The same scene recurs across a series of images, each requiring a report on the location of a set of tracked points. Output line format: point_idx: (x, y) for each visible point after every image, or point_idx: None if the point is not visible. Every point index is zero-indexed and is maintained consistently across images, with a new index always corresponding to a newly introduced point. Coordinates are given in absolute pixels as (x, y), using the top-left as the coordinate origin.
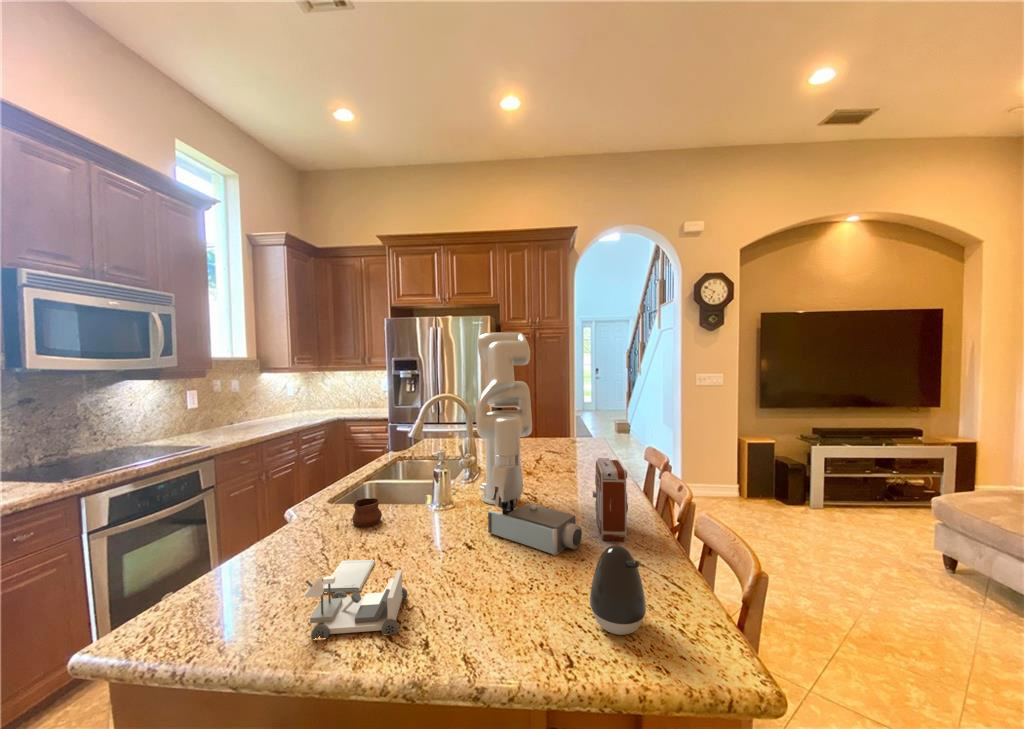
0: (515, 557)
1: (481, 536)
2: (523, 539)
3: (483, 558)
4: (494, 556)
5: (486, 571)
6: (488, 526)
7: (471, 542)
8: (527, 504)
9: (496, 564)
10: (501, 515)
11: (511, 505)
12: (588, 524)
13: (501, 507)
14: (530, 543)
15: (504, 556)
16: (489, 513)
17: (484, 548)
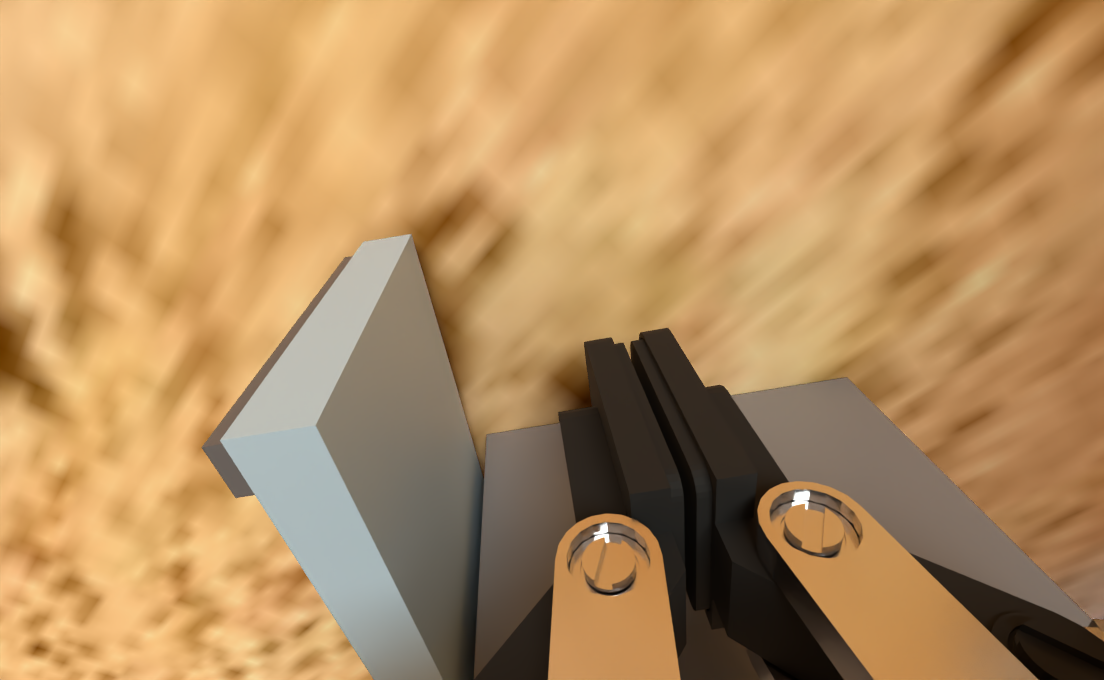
0: (330, 639)
1: (249, 216)
2: None
3: (82, 555)
4: (189, 574)
5: (47, 660)
6: (317, 300)
7: (49, 264)
8: None
9: (154, 639)
10: (375, 671)
11: (776, 655)
12: (1076, 600)
13: (510, 655)
14: None
15: (265, 604)
16: (225, 479)
17: (159, 450)
